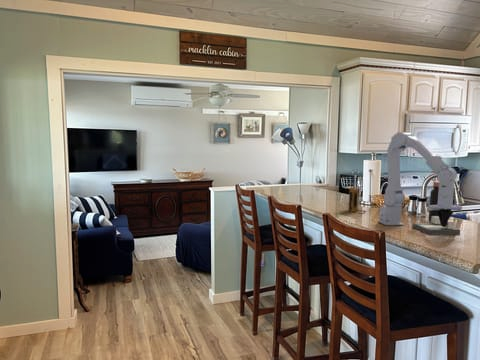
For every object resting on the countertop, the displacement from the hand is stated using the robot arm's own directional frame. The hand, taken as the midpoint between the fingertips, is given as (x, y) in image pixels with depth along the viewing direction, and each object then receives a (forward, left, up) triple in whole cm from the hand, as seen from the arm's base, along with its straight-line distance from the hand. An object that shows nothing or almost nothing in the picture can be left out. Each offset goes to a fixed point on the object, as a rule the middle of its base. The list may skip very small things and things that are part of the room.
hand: (443, 226), depth 161 cm
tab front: (+3, 0, -1) cm, 3 cm away
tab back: (+2, +9, -1) cm, 9 cm away
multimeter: (-17, +50, -3) cm, 53 cm away
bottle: (+13, +25, -3) cm, 28 cm away
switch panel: (0, +5, -3) cm, 5 cm away
